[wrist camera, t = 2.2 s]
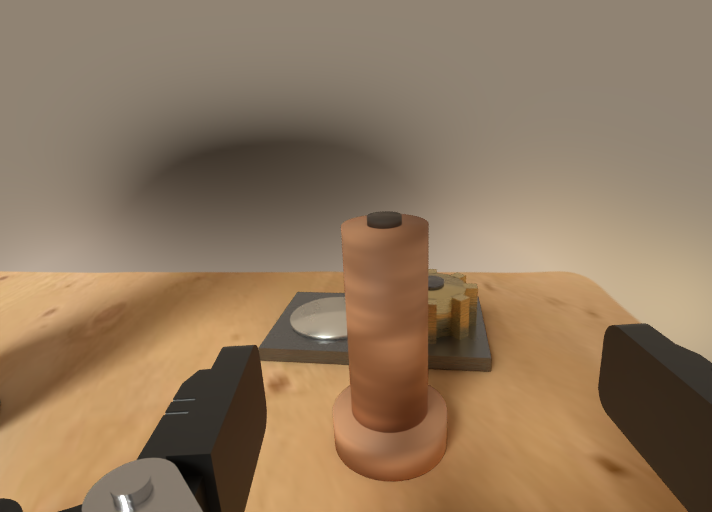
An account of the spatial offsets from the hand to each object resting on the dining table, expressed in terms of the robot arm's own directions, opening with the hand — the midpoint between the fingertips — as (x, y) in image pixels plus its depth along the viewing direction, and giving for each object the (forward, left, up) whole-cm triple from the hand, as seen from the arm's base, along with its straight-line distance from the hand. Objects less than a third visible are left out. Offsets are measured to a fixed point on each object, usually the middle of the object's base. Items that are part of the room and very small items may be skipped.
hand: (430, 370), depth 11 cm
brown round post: (-2, +11, -11) cm, 16 cm away
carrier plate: (-4, +23, -11) cm, 26 cm away
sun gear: (0, +23, -10) cm, 25 cm away
